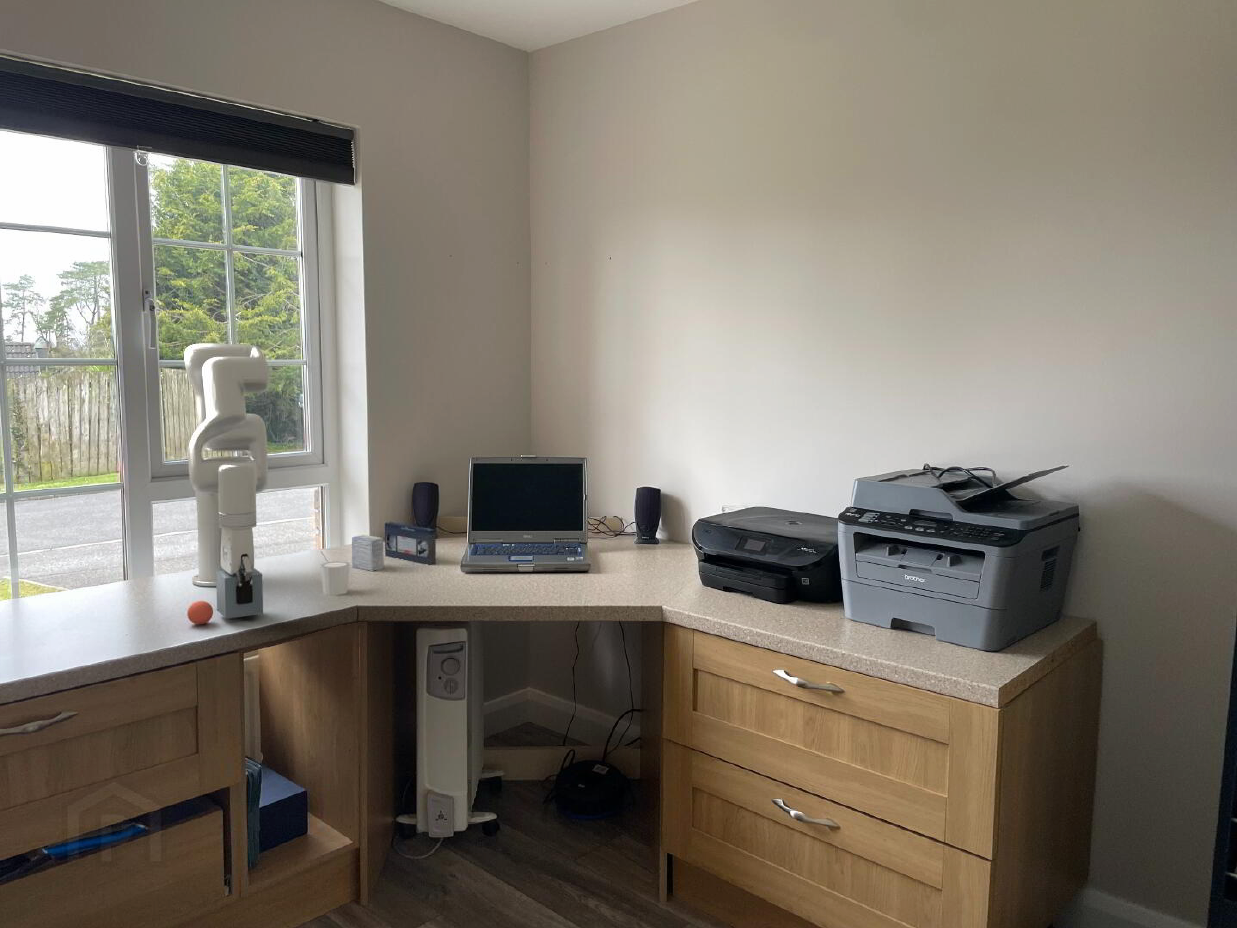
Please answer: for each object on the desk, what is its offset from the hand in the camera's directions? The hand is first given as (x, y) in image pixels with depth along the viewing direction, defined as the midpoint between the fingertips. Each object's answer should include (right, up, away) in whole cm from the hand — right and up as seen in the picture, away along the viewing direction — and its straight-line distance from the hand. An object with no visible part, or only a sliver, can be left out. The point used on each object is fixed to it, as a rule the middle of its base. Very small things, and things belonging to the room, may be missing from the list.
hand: (239, 598), depth 197 cm
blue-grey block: (0, -3, 0) cm, 3 cm away
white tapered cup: (+13, -2, +24) cm, 28 cm away
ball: (-6, -2, -5) cm, 8 cm away
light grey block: (+14, +1, +50) cm, 52 cm away
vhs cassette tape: (+23, +2, +61) cm, 65 cm away
